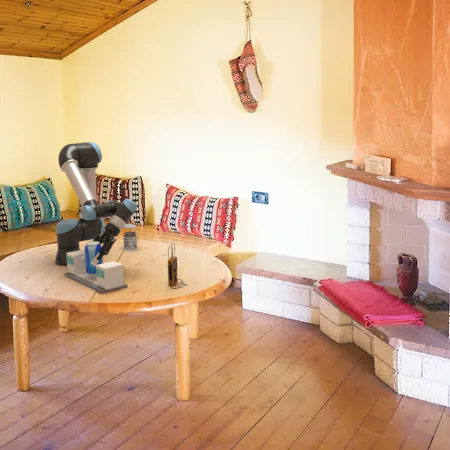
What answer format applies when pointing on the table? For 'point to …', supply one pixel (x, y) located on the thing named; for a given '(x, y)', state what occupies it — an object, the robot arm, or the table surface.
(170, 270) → the multimeter
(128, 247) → the french press
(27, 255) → the table surface
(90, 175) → the robot arm
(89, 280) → the rail board
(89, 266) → the beer can
